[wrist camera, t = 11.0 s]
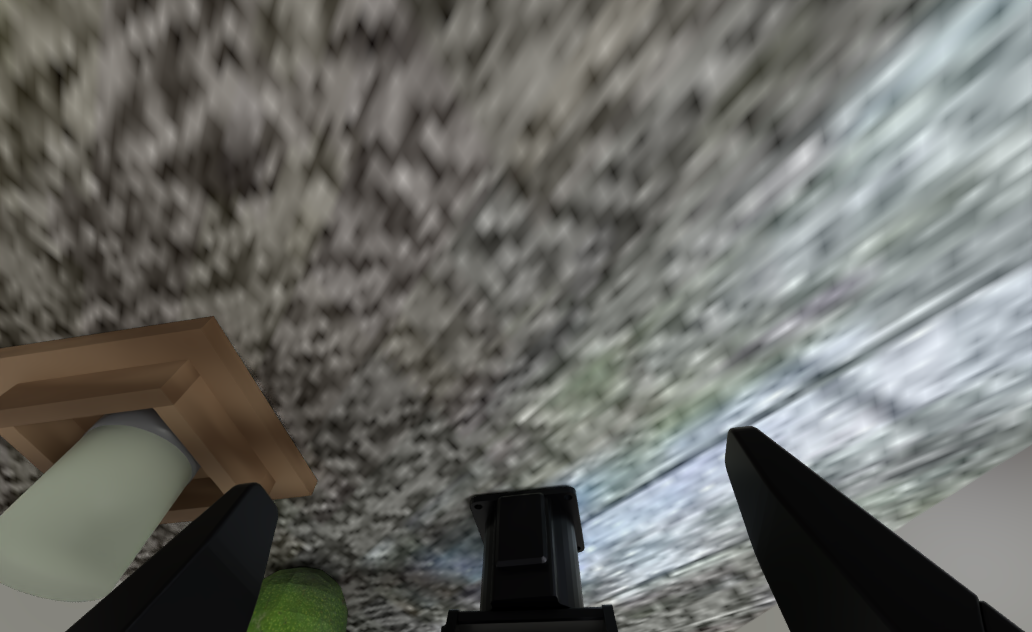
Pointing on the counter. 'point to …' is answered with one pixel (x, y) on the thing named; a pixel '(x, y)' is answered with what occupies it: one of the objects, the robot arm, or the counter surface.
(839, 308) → the counter surface
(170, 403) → the holder
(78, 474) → the white rounded cylinder
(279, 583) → the avocado
